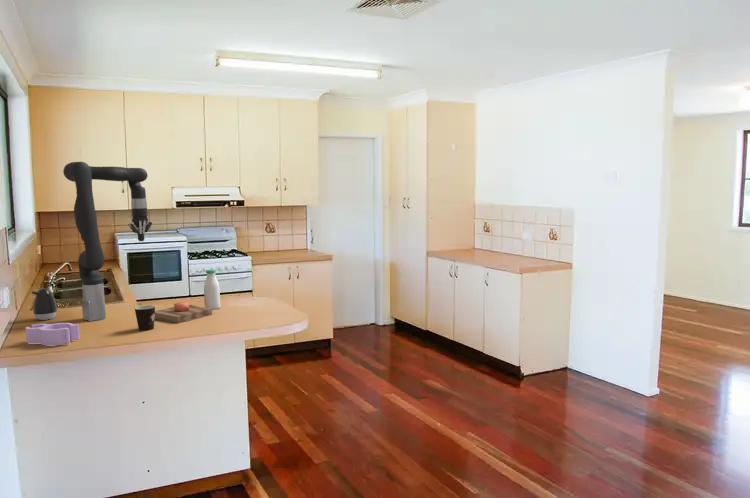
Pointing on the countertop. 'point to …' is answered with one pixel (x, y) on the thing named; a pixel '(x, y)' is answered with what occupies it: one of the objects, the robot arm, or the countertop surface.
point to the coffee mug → (145, 317)
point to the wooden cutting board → (182, 314)
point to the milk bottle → (211, 290)
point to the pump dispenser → (44, 305)
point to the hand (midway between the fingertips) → (141, 241)
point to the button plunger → (181, 306)
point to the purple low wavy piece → (52, 333)
